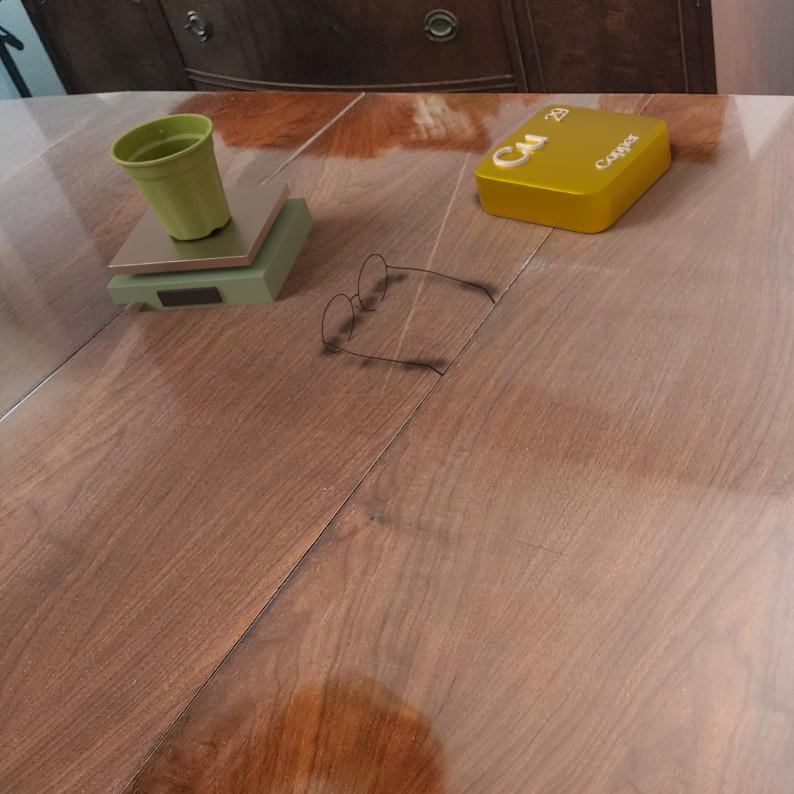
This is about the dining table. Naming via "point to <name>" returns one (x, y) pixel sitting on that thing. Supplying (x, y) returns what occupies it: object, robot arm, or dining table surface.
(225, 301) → the scale
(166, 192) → the plant pot
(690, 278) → the dining table surface
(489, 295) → the eyeglasses
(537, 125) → the element tile
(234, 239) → the weighing pan
